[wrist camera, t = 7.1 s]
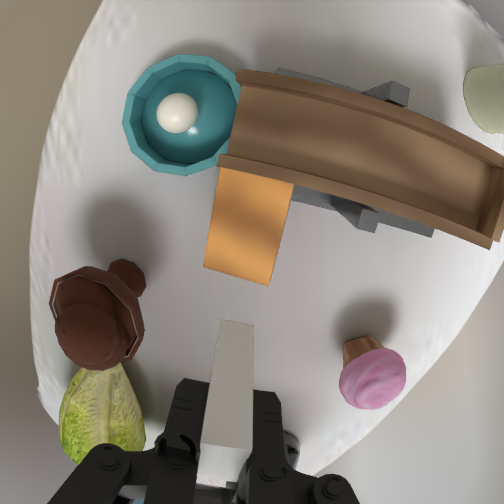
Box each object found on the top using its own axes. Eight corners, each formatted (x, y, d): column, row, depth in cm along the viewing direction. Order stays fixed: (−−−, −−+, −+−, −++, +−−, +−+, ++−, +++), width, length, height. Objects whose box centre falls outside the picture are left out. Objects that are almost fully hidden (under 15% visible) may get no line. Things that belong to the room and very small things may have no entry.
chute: (432, 310, 27) (452, 344, 21) (219, 251, 30) (194, 275, 24) (484, 159, 21) (519, 163, 15) (253, 84, 24) (234, 65, 18)
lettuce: (82, 320, 42) (168, 352, 47) (66, 422, 42) (138, 447, 46) (52, 355, 28) (167, 398, 32) (47, 468, 28) (135, 498, 32)
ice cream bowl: (90, 228, 32) (11, 284, 18) (174, 253, 33) (124, 331, 19) (88, 300, 35) (29, 370, 21) (162, 326, 36) (124, 413, 22)
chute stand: (427, 235, 31) (471, 266, 22) (251, 189, 30) (249, 211, 21) (453, 135, 27) (506, 140, 18) (277, 70, 25) (287, 40, 16)
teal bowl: (233, 179, 30) (230, 184, 26) (129, 162, 29) (115, 165, 26) (256, 72, 25) (257, 63, 22) (149, 60, 25) (137, 52, 21)
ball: (195, 136, 24) (151, 130, 23) (192, 135, 28) (154, 130, 27) (204, 93, 23) (159, 87, 22) (200, 98, 26) (161, 93, 25)
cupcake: (322, 336, 37) (339, 392, 27) (383, 312, 35) (414, 361, 26) (337, 377, 39) (352, 430, 30) (390, 356, 38) (415, 404, 29)
